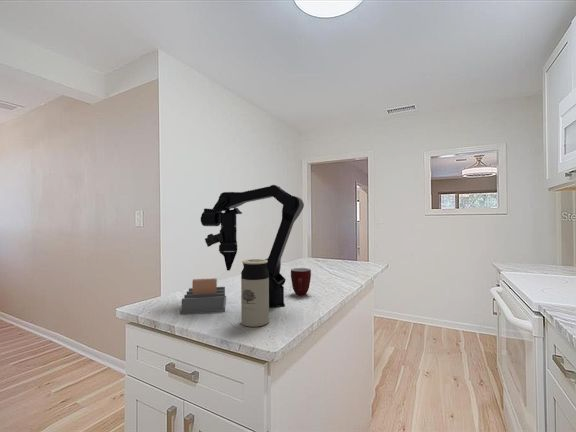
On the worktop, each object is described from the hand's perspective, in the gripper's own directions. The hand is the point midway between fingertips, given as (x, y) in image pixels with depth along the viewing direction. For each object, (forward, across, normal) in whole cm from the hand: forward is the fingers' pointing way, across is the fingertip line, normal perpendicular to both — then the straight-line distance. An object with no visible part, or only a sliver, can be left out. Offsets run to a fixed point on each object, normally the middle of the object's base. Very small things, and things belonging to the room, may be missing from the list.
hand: (228, 268), depth 107 cm
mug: (+12, -2, +28) cm, 31 cm away
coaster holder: (+12, +5, -8) cm, 15 cm away
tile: (+11, +5, -8) cm, 14 cm away
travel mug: (+12, +25, +8) cm, 29 cm away
